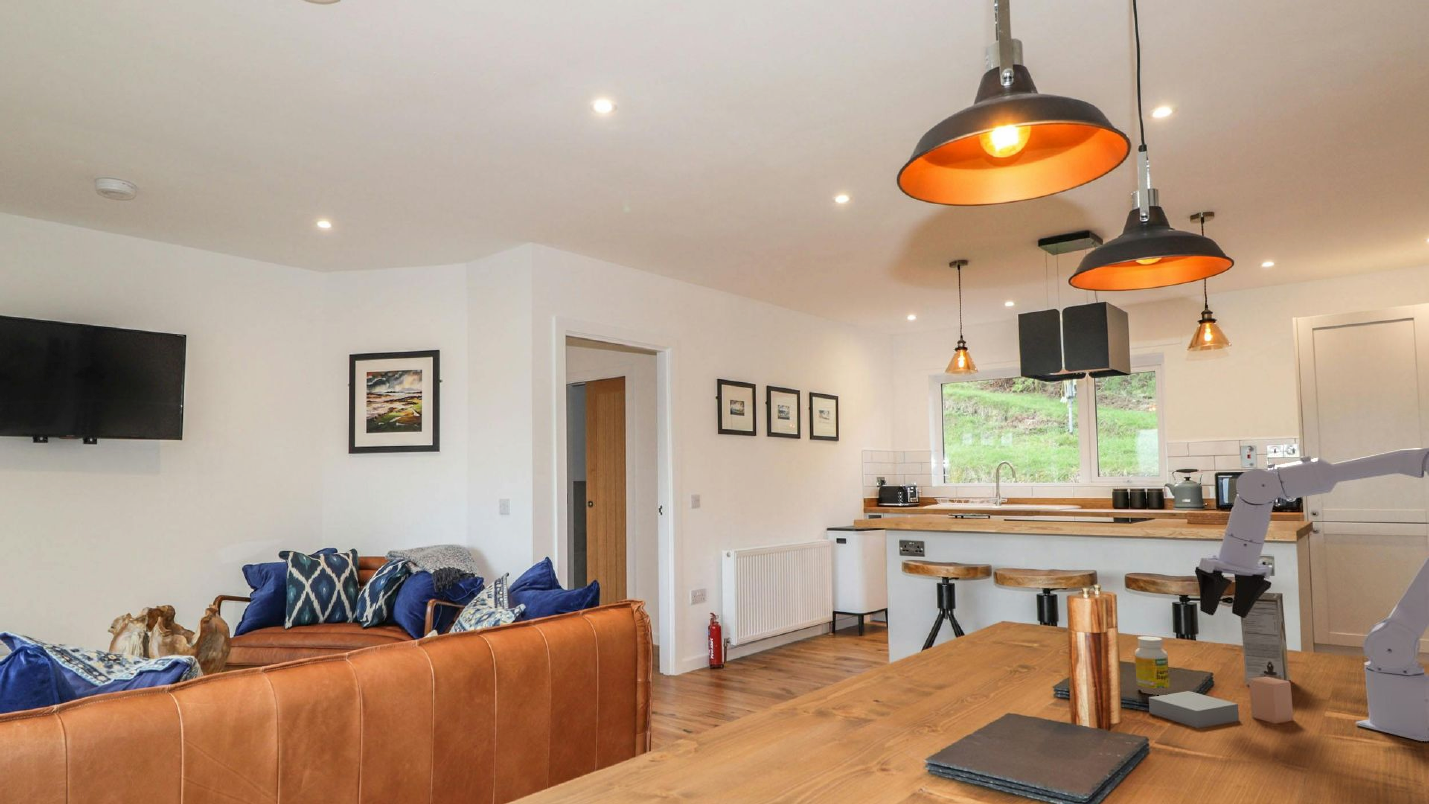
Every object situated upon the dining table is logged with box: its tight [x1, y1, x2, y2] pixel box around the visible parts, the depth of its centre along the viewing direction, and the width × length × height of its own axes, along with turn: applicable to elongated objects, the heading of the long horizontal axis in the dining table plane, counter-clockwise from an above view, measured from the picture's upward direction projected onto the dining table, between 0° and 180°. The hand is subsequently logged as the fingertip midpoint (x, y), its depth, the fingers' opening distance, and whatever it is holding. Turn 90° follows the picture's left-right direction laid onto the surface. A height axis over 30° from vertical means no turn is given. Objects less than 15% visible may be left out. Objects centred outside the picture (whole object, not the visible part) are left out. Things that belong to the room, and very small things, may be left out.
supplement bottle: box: [1134, 635, 1171, 688], centre depth 154 cm, size 5×5×10 cm
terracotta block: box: [1248, 677, 1294, 724], centre depth 136 cm, size 4×4×6 cm
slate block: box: [1148, 690, 1240, 729], centre depth 138 cm, size 9×9×3 cm
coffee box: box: [1240, 592, 1290, 686], centre depth 159 cm, size 9×6×16 cm
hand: (1222, 614), depth 145 cm, fingers open, 7 cm apart
